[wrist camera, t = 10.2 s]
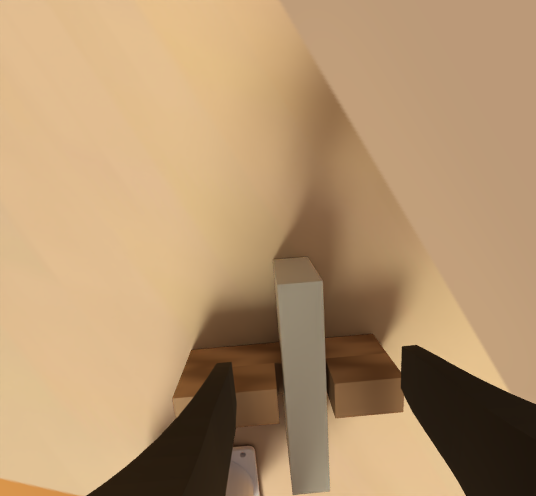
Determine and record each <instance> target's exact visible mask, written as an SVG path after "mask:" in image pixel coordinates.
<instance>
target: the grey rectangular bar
mask: <svg viewBox="0 0 536 496" xmlns="http://www.w3.org/2000/svg"><path fill="white" fill-rule="evenodd" d="M273 268H274V281H275V294H276V307H277V321H278V333H279V341H280V349H281V360H282V373H283V386H284V393H283V399H284V412H285V425H286V436H287V446H288V455H289V464H290V473H291V483H292V492H293V495H297V494H308V493H318V492H329V491H330V478H329V448H328V419H327V389H326V360H325V330H324V300H323V280H322V279H321V277H320V276H319V274H318V272H317V271H316V269H315V268H314V266H313V264H312V263H311V261H310V260H309V258H308V257H297V258H285V259H273Z"/></svg>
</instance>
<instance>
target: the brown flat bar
mask: <svg viewBox="0 0 536 496" xmlns="http://www.w3.org/2000/svg"><path fill="white" fill-rule="evenodd" d="M325 360H326V389H327V393H328V396H329V399H330V402H331V406H332V409H333V412H334V415H335V418H344V417H355V416H366V415H376V414H387V413H398V412H403V406H404V394H403V392H402V390H401V372H400V371H399V369H398V368H397V366H396V365H395V364H394V362H393V361H392V360H391V358H390V357H389V356H388V354H387V353H386V351H385V350H384V349H383V347H382V346H381V345H380V343H379V342H378V340H377V339H376V338H375V336H374V335H373V334H366V335H354V336H343V337H332V338H325ZM223 362H232V369H233V377H234V385H235V393H236V401H237V410H236V427H246V426H257V425H268V424H279V412H278V400H277V394H283V393H284V386H283V373H282V360H281V349H280V342H275V343H264V344H253V345H241V346H230V347H219V348H208V349H196V350H191V352H190V355H189V357H188V360H187V362H186V365H185V368H184V370H183V373H182V375H181V378H180V380H179V383H178V385H177V388H176V391H175V393H174V396H173V398H172V399H173V405H174V410H175V415H176V418H177V417H178V416H179V414H180V413H181V412H182V411H183V410H184V408H185V407H186V406H187V405H188V403H189V402H190V401H191V400H192V398H193V397H194V395H195V394H196V393H197V391H198V390H199V389H200V387H201V386H202V384H203V383H204V381H205V380H206V378H207V377H208V375H209V374H210V372H211V371H212V369H213V368H214V366H215V365H216V364H217V363H223Z"/></svg>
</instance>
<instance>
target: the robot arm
mask: <svg viewBox="0 0 536 496" xmlns="http://www.w3.org/2000/svg"><path fill="white" fill-rule="evenodd" d="M401 390H402V392H403V394H404V396H405V398H406V400H407V402H408V404H409V406H410V408H411V410H412V412H413V413H414V415H415V416H416V418H417V419H418V421H419V423H420V424H421V426H422V427H423V429H424V430H425V432H426V433H427V435H428V436H429V438H430V439H431V441H432V442H433V444H434V445H435V447H436V448H437V450H438V451H439V453H440V454H441V456H442V457H443V459H444V460H445V462H446V463H447V465H448V466H449V468H450V469H451V471H452V472H453V474H454V476H455V477H456V479H457V480H458V482H459V484H460V486H461V487H462V489H463V491H464V493H465V495H466V496H536V404H534V403H531V402H529V401H526V400H524V399H522V398H520V397H517V396H515V395H513V394H510V393H508V392H506V391H504V390H502V389H499V388H497V387H495V386H493V385H491V384H489V383H487V382H485V381H483V380H481V379H479V378H477V377H475V376H473V375H471V374H469V373H468V372H466V371H464V370H462V369H460V368H458V367H456V366H455V365H453V364H451V363H449V362H447V361H446V360H444V359H442V358H440V357H438V356H437V355H435V354H433V353H431V352H429V351H427V350H425V349H424V348H422V347H419V346H417V345H412V346H402V361H401ZM236 410H237V401H236V393H235V385H234V377H233V369H232V362H223V363H217V364H216V365H215V366H214V368H213V369H212V371H211V372H210V374H209V375H208V377H207V378H206V380H205V381H204V383H203V384H202V386H201V387H200V389H199V390H198V391H197V393H196V394H195V395H194V397H193V398H192V400H191V401H190V402H189V403H188V405H187V406H186V407H185V408H184V410H183V411H182V412H181V413H180V414H179V416H178V417H177V418H176V419H175V420H174V421H173V423H172V424H171V425H170V426H169V427H168V428H167V429H166V430H165V431H164V432H163V433H162V434H161V435H160V436H159V437H158V438H157V439H156V440H155V441H154V442H153V443H152V444H151V445H150V446H149V447H148V448H147V449H145V450H144V451H143V452H142V453H141V454H140V455H139V456H138V457H137V458H136V459H134V460H133V461H132V462H131V463H130V464H128V465H127V466H126V467H125V468H123V469H122V470H121V471H120V472H118V473H117V474H116V475H114V476H113V477H112V478H111V479H109V480H108V481H107V482H105V483H104V484H103V485H101V486H100V487H98V488H97V489H96V490H94V491H93V492H91V493H90V494H88V495H87V496H260V491H259V482H258V474H257V465H256V456H255V449H254V448H253V447H252V446H240V447H233V443H234V436H235V429H236ZM242 452H243V453H242Z"/></svg>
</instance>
